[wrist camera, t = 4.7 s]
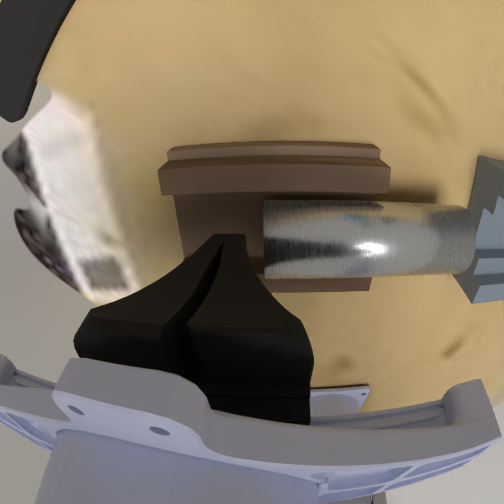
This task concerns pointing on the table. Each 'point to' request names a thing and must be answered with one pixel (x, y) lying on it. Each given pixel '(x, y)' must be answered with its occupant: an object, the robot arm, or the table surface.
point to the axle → (365, 239)
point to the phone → (25, 49)
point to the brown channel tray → (266, 192)
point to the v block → (486, 234)
